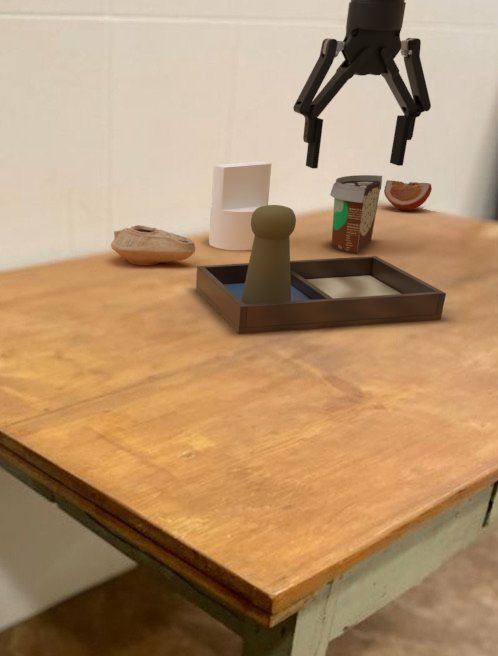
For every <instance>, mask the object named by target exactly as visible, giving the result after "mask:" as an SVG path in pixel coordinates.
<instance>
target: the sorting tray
mask: <svg viewBox="0 0 498 656" xmlns="http://www.w3.org/2000/svg"><path fill="white" fill-rule="evenodd" d="M248 265H249V262H245V263H232V264H231V263H230V264H229V263H228V264H213V265H212V264H211V265H209V264H208V265H197V266H196V283H195V285H196V286H195V291H196V292H197V293H198V294H199V295H200V296H201V297H202V299H203V300H204V301H205V302H207V304H208V305H209V306H210V307H211V308H213V310H214V311H215V312H216V313H217V314H218V315H219V316H220V317H221V318H222V319H223V320H224V321H225V322H226V323H227V324H228V325H229V326H230V327H231V328H232V329H233V330H234V331H235V332H236V334H238V335H246V334H260V333H261V334H262V333H274V332H275V333H277V332H287V331H288V332H289V331H290V332H291V331H301V330H302V331H303V330H317V329H332V328H344V327H345V328H346V327H358V326H359V327H360V326H361V327H362V326H372V325H373V326H374V325H386V324H387V325H388V324H400V323H415V322H416V323H417V322H428V321H441V320H442V314H443V310H444V305H445V300H446V295H447V293H446V292H445V291H443V290H440V288H437V287H435V286H434V285H432V284H430V283H428V282H426V281H424V280H422V279H421V278H418V277H417V276H414V275H412V274H411V273H409V272H407V271H405V270H403V269H401V268H400V267H398V266H397V265H393V264H392V263H390V262H388V261H386V260H384V259H383V258H381V257H379V256H377V255H369V256H367V255H366V256H351V257H349V256H348V257H334V258H333V257H331V258H318V259H316V258H314V259H299V260H298V259H297V260H290V277H291V301H287V302H272V303H257V304H246V303H244V302H243V301H242V295H243V290H244V285H245V280H246V275H247V270H248Z"/></svg>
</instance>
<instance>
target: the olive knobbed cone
mask: <svg viewBox="0 0 498 656" xmlns="http://www.w3.org/2000/svg"><path fill="white" fill-rule="evenodd" d="M296 223H297V217H296V214H295V211H294V210H293V209H292V208H290V207H289V206H284V205H280V204H268V205H266V206H261V207H259V208H257V209H256V210H255V211H254V213H253V214H252V217H251V228H252V231H253V233H254V235H255V236H254V241H253V246H252V250H250V256H249V260H248V261H249V262H248V263H249V265H248V270H247V275H246V280H245V285H244V290H243V295H242V301H243V302H244V303H246V304H257V303H272V302H287V301H291V277H290V261H291V248H290V245H291V244H290V243H291V242H290V236H291V235H292V234H293V233H294V231H295V229H296Z"/></svg>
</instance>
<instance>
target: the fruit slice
mask: <svg viewBox="0 0 498 656" xmlns="http://www.w3.org/2000/svg"><path fill="white" fill-rule="evenodd" d="M432 188H433V187H432V184H431V183H428V182H416V181H414V182H413V181H410V182H408V183H407V182H403V181H399V180H389V179H388V180H386V182H385V185H384V191H383V195H384V197H385V198H386V199H387V201H388V202H389V203H390V204H391V205H392V206H393V207H395V208H396V209H398V210H400V211H411V210H415V209H417V208H419V207H421V206H422V205H423V204H424V203H426V201H427V200H428V198H429V197H430V195H431V193H432V190H433V189H432Z"/></svg>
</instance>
